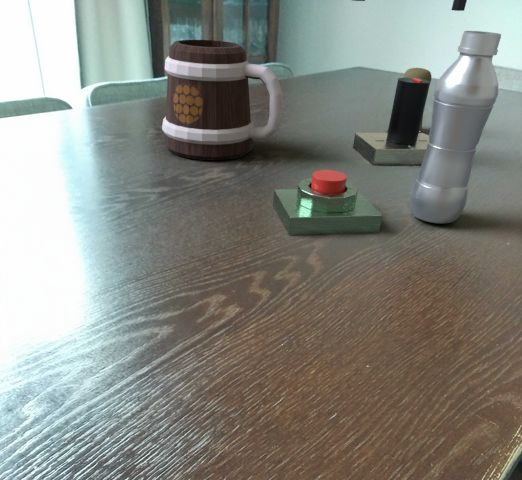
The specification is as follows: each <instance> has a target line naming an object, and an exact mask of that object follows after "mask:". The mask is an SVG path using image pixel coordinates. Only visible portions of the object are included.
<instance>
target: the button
mask: <svg viewBox="0 0 522 480" xmlns="http://www.w3.org/2000/svg"><path fill="white" fill-rule="evenodd" d="M311 178H312V183H311V189H312V190H314V191H316V192H320V193H326V194H340V193H344V192H345V186H346V182H347V179H348V177H347V175H346V174H345V173H343V172H340V171H338V170H331V169H319V170H315V171H313V172H312V175H311Z"/></svg>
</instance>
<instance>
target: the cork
mask: <svg viewBox="0 0 522 480" xmlns="http://www.w3.org/2000/svg"><path fill="white" fill-rule="evenodd" d="M404 77H407V78H419V79H425V80H428V81H430V84H431V82H432V72H431V71H430V70H429V69H426V68H422V67H412V68H408V69H407V70H406V71H405V72H404V74H403V76H402V78H404ZM423 119H424V115H423V116H422V121H421V125H420V129H419V131H421V132H419V133H422V129H423V122H424V121H423Z"/></svg>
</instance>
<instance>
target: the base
mask: <svg viewBox="0 0 522 480" xmlns="http://www.w3.org/2000/svg"><path fill="white" fill-rule="evenodd" d="M387 133H388V132H354V136H353V137H354V138H353V142H352V148H353V149H354V150H355V151H356V152H357V153H358V154H360V155H361V156H362V157H363V158H365V160H367V161H368V162H369V163H370V164H371V165H372V166H421V165H422V162H423V159H424V156H425V153H426V149H427V144H428V141H429V134H428V135H427V134H426V133H424V132H421V133H419V134H418V138H417V142H416V143H414V144H398V143H394V142H391V141H388V140H387Z"/></svg>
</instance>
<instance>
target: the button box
mask: <svg viewBox="0 0 522 480" xmlns="http://www.w3.org/2000/svg"><path fill="white" fill-rule="evenodd" d="M311 183H312V177H308V178H305V179H302V180H301V181H300V182H299V183H298V184H297V188H288V189H285V188H283V189H281V188H280V189H279V188H278V189H274V190H273V198H272V199H273V201H272V207H273V209H274V210H275V212H276V215H277V216H278V218H279V220H280V222H281V224H282V225H283V227H284V229H285V231H286V233H287V236H313V235H315V236H317V235H319V236H321V235H346V234H347V235H348V234H349V235H350V234H351V235H353V234H379V233H380V229H381V225H382V222H383V221H382V220H383V214H382V213H381V212H380V211H379V210H378V209H377V208H376V207H375V205H373V203H372V202H371V201H370V200H369V199H368V198H367V197H366V196H365V195H364V194H363V193H362V192H361V191H360V190H359V188H358V187H356V186H355V184H353V183H351V182H349V181H346V186H345V192H344V193H340V194H326V193H320V192H316V191H314V190H312V189H311Z"/></svg>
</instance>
